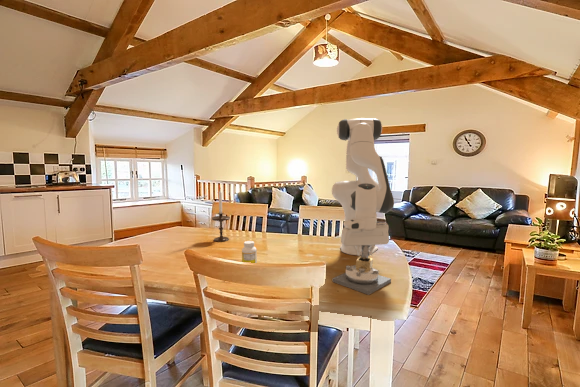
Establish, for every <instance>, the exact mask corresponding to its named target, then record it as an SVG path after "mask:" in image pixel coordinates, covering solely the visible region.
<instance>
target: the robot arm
mask: <svg viewBox="0 0 580 387" xmlns="http://www.w3.org/2000/svg"><path fill="white" fill-rule="evenodd" d="M382 133H383V124H382V121H381V120H380V119H379V118H365V117H360V118H349V119H346V118H344V119H342V120H340V121H339V122H338V125H337V128H336V134H337V136H338V139H339V140H341V141H347V144H346V150H345V151H346V152H345V153H346V157H345V169H346V170H347V172H348V173H350V174H351V175H353V176H355V177H357V179H356V180H340V181H335V182H334V183H333V185H332V187H331V195H332V197H333V199H335V200H336V201H337V202H338V203H340V205H341V207H342V210H343V213H344V221H343V228H342V230H341V236H340V243H341V245H340V246H339V248H340V251H341V252H342V253H344V254H347V255H351V256H357V257H359V256H360V257H361V256H362V251H361V246H362V245H369V254H368V256H372V255H373V253H374V252H376V251H377V250H379V247H378V245H388V244H389V242H390V235H389V230H390V229H389V224H388V223H387V222H385V221H383V222H380V221H378V222H377V220H378V218H377V217H378V215H377V213H381V214H388V213H389V212H391V210H393V209H394V204H395V200H394V194H393V193H392V189H391V187H390V183H389V178H388V174H387V169H386V166H385V161H384V159H383V156H380V155H379V154H378V153H377V150H376V149H375V141H377V140H378V139H379V138H380V137H381V135H382ZM369 170H371V172H372V171H373V172H374V173H375V175H376V178H377V181H375V180H374V178H373V177H372V176H371V174H370V172H369Z"/></svg>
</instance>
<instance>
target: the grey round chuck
mask: <svg viewBox="0 0 580 387" xmlns="http://www.w3.org/2000/svg"><path fill="white" fill-rule="evenodd" d="M373 262H374V258H373V257H368V261H362V260H361V256H357V259H356V260H355V265H346V266H345V273H346V279H347V280H349V281H351V282H354V283H358V284H373V283H376V282H377V281H378V275H379V272H380V271H379V270H378V269H376V268H374V267H373Z"/></svg>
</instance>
